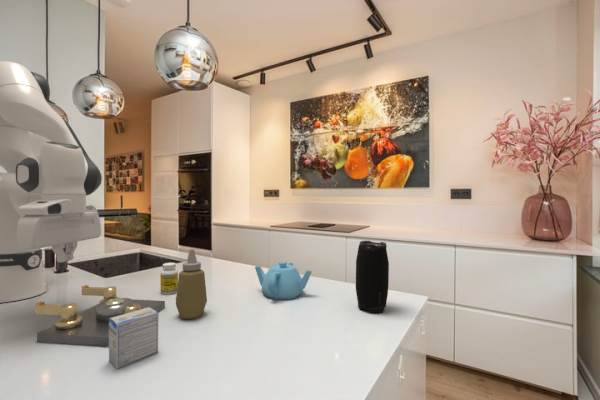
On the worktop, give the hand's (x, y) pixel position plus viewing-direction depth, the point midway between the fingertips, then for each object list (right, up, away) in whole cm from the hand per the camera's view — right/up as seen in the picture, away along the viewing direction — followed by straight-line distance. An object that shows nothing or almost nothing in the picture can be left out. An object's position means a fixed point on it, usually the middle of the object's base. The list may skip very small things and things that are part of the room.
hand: (65, 261), depth 74 cm
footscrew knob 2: (+4, -14, +8) cm, 16 cm away
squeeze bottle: (+30, -16, +6) cm, 34 cm away
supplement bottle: (+15, -16, +25) cm, 33 cm away
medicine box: (+26, -17, -15) cm, 34 cm away
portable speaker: (+80, -17, +12) cm, 83 cm away
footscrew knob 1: (+2, -14, -5) cm, 15 cm away
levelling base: (+11, -16, +1) cm, 19 cm away
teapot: (+54, -16, +25) cm, 61 cm away
